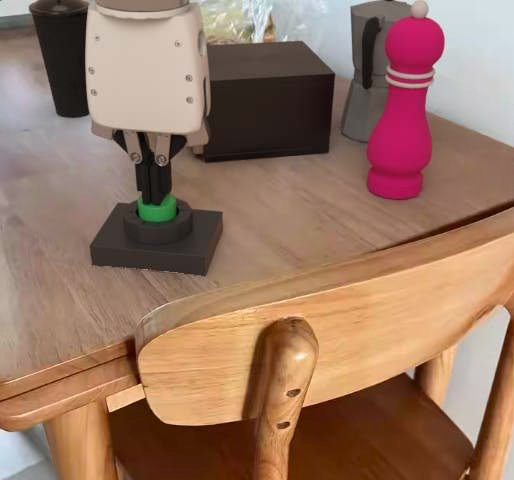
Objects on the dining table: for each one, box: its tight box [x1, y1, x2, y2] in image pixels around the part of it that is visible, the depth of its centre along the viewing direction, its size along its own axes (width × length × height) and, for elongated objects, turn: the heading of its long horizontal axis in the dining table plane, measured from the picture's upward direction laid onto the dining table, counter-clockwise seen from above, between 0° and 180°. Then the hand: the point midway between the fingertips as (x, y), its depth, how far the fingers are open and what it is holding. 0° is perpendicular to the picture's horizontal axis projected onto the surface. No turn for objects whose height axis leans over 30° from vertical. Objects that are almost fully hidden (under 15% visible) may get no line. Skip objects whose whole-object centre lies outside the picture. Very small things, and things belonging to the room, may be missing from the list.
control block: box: [89, 197, 224, 277], centre depth 71 cm, size 11×9×4 cm
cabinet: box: [200, 40, 336, 164], centre depth 92 cm, size 16×14×10 cm
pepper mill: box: [365, 0, 446, 200], centre depth 78 cm, size 7×7×20 cm
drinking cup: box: [28, 0, 91, 118], centre depth 95 cm, size 8×8×20 cm
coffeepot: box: [339, 0, 412, 144], centre depth 91 cm, size 15×9×18 cm, turn 158°
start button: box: [137, 193, 177, 222], centre depth 70 cm, size 4×4×2 cm
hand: (155, 198), depth 69 cm, fingers closed
